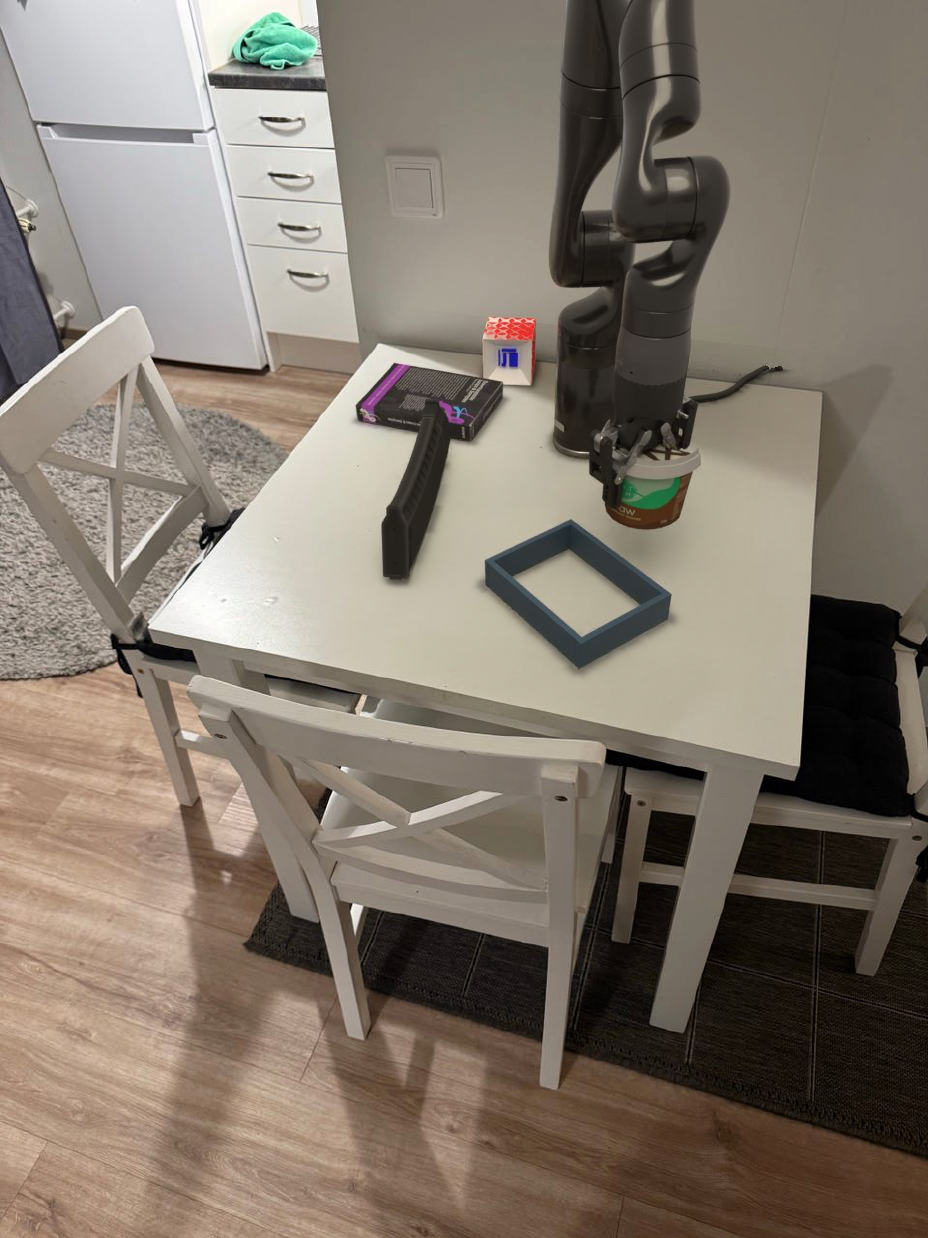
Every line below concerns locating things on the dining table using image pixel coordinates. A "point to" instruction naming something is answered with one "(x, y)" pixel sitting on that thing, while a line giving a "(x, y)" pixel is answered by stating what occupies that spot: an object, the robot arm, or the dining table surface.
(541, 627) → the blue rectangular frame
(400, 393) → the box
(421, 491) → the magazine
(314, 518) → the dining table surface
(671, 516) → the food container
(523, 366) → the white and red cube
